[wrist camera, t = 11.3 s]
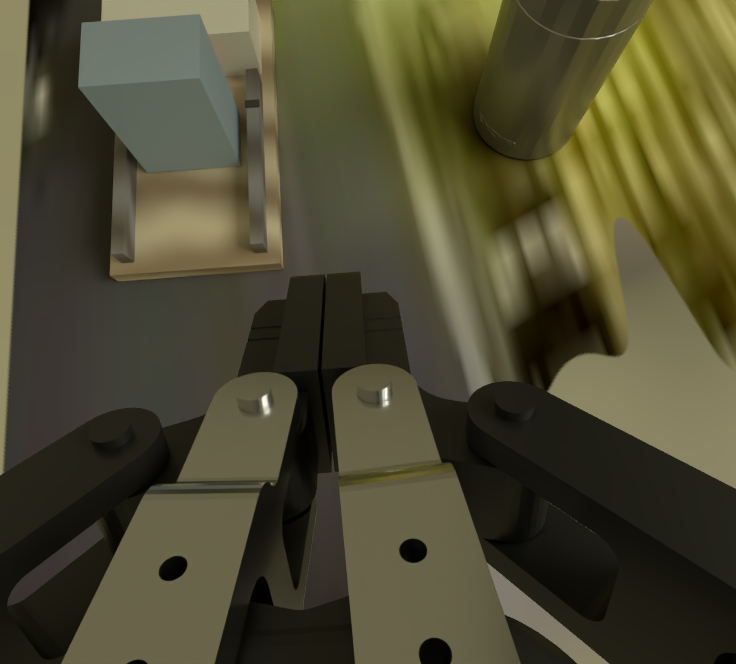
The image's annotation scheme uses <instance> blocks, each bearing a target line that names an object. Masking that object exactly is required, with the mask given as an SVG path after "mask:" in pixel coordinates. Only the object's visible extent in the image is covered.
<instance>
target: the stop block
mask: <svg viewBox="0 0 736 664" xmlns="http://www.w3.org/2000/svg"><path fill="white" fill-rule="evenodd" d="M194 14H200V16H201V18H202V21H203V23H204V26H205V28H206V31H207V33H208V36H209V38H210V41H211V43H212V46H213V48H214V51H215V53H216V56H217V58H218V61H219V63H220V66H221V68H222V71H223V73H224V76H225V77H229V76H242V75H246V69H251V68H258V72H259V74H262V61H261V30H260V15H259V12H258V8H257V4H256V0H102V15H101V21H113V20H126V19H140V18H153V17H167V16H180V15H194Z"/></svg>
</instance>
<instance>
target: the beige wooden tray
mask: <svg viewBox="0 0 736 664" xmlns="http://www.w3.org/2000/svg"><path fill="white" fill-rule="evenodd" d="M256 4H257V8H258V12H259V15H260V30H261V61H262V74H259V72H258V68H251V69H246V75H242V76H229V77H225V78H226V81H227V83H228V86H229V88H230V91H231V93H232V96H233V98H234V101H235V103H236V106H237V108H238V111H239V113H240V144H241V166H233V167H219V168H206V169H192V170H179V171H165V172H152V173H147V172H146V170H145V169H144V168H143V167H142V165H141V164H140V163H139V162H138V161H137V159H136V158H135V157H134V156H133V154H132V153H131V152H130V151H129V149H128V148H127V147H126V146H125V144H124V143H123V142H122V141H121V140H120V138H119V137H118V136H117V135H116V133H115V149H114V176H113V202H112V229H111V256H110V276H111V277H112V278H114V279H115V280H117V281H131V280H145V279H158V278H172V277H185V276H199V275H212V274H226V273H239V272H253V271H267V270H280V269H283V250H282V224H281V198H280V172H279V146H278V121H277V95H276V69H275V43H274V17H273V8H272V4H271V0H256Z"/></svg>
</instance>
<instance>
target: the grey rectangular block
mask: <svg viewBox="0 0 736 664" xmlns="http://www.w3.org/2000/svg"><path fill="white" fill-rule="evenodd" d="M78 88H79V89H80V90H81V91H82V93H83V94H84V95H85V96H86V97H87V99H88V100H89V101H90V102H91V104H92V105H93V106H94V107H95V109H96V110H97V111H98V112H99V114H100V115H101V116H102V117H103V118H104V120H105V121H106V122H107V123H108V125H109V126H110V127H111V128H112V130H113V131H114V132H115V133H116V135H117V136H118V137H119V138H120V140H121V141H122V142H123V143H124V144H125V146H126V147H127V148H128V149H129V151H130V152H131V153H132V154H133V156H134V157H135V158H136V159H137V161H138V162H139V163H140V164H141V165H142V167H143V168H144V169H145V170H146V172H147V173H152V172H165V171H179V170H192V169H206V168H219V167H233V166H241V144H240V113H239V111H238V108H237V106H236V103H235V101H234V98H233V96H232V93H231V91H230V88H229V86H228V83H227V81H226V78H225V76H224V73H223V71H222V68H221V66H220V63H219V61H218V58H217V56H216V53H215V51H214V48H213V46H212V43H211V41H210V38H209V36H208V33H207V31H206V28H205V26H204V23H203V21H202V18H201V16H200V14H194V15H180V16H167V17H153V18H140V19H126V20H113V21H99V22H85V23H82V27H81V45H80V63H79V81H78Z"/></svg>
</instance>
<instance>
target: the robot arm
mask: <svg viewBox="0 0 736 664" xmlns="http://www.w3.org/2000/svg"><path fill="white" fill-rule="evenodd" d="M652 2H653V0H502V4H501V7H500V11H499V15H498V18H497V22H496V26H495V29H494V33H493V37H492V40H491V44H490V47H489V51H488V55H487V58H486V62H485V66H484V69H483V72H482V76H481V80H480V83H479V87H478V91H477V94H476V98H475V102H474V107H473V116H474V122H475V125H476V128H477V130H478V132H479V134H480V136H481V137H482V138H483V139H484V141H485V142H486V143H487V144H488V145H489V146H491V147H492V148H493V149H495V150H496V151H497V152H499V153H502V154H504V155H506V156H509V157H512V158H516V159H525V160H531V159H539V158H543V157H546V156H549V155H551V154H553V153H554V152H556V151H558V150H559V149H560V148H562V147H563V146H564V145H565V144H566V143H567V141H568V140H569V139H570V137H571V136H572V134H573V132H574V131H575V129H576V127H577V126H578V124H579V123H580V121H581V119H582V118H583V116H584V114H585V113H586V111H587V110H588V108H589V106H590V105H591V103H592V101H593V100H594V98H595V96H596V95H597V93H598V91H599V90H600V88H601V86H602V85H603V83H604V82H605V80H606V78H607V77H608V75H609V73H610V72H611V70H612V68H613V67H614V65H615V63H616V62H617V60H618V58H619V57H620V55H621V53H622V52H623V50H624V48H625V47H626V45H627V43H628V42H629V40H630V38H631V37H632V35H633V34H634V32H635V30H636V29H637V27H638V25H639V24H640V22H641V20H642V19H643V17H644V15H645V14H646V12H647V10H648V8H649V7H650V5H651V3H652ZM332 452H333V460H334V467H335V472H339V476H340V477H339V489H340V501H341V512H342V523H343V534H344V545H345V556H346V567H347V578H348V589H349V596H348V597H344V598H341V599H338V600H335V601H332V602H329V603H326V604H323V605H320V606H317V607H314V608H311V609H306V610H303V604H304V595H305V588H306V581H307V574H308V567H309V560H310V553H311V546H312V539H313V532H314V525H315V518H316V511H317V506H316V499H315V495H316V491H317V477H318V473H328V472H331V471H332ZM550 503H551V504H550ZM553 505H554V506H553ZM556 507H557V508H556ZM559 509H560V510H559ZM562 511H563V512H562ZM565 513H566V514H565ZM568 515H569V516H568ZM571 517H572V518H571ZM574 519H575V520H574ZM577 521H578V522H577ZM95 522H96V523H97V525H98V527H99V529H100V531H101V533H102V535H103V537H104V538H103V539H101V540H100V541H99V542H97V543H96V544H95V545H94V546H92V547H91V548H90V549H89V550H87V551H86V552H85V553H83V554H82V555H81V556H80V557H78V558H77V559H76V560H75V561H73V562H72V563H71V564H69V565H68V566H67V567H66V568H64V569H63V570H62V571H61V572H59V573H58V574H57V575H55V576H54V577H53V578H52V579H50V580H49V581H48V582H47V583H45V584H44V585H43V586H41V587H40V588H39V589H38V590H36V591H35V592H34V593H33V594H31V595H30V596H29V597H27V598H26V599H25V600H23V601H21V602H19V603H17V604H15V605H11V606H7V601H8V598H9V595H10V593H11V591H12V590H13V588H14V587H15V585H16V584H17V583H18V582H19V581H20V580H21V579H22V578H23V577H24V576H25V575H26V574H27V573H29V572H30V571H31V570H33V569H34V568H35V567H37V566H38V565H39V564H41V563H42V562H43V561H45V560H46V559H47V558H49V557H50V556H51V555H53V554H54V553H55V552H57V551H58V550H59V549H60V548H62V547H63V546H64V545H66V544H67V543H68V542H70V541H71V540H72V539H74V538H75V537H76V536H78V535H79V534H80V533H82V532H83V531H84V530H86V529H87V528H88V527H90V526H91V525H92V524H94V523H95ZM580 523H581V524H580ZM583 525H584V526H583ZM586 527H587V528H586ZM589 529H590V530H589ZM592 531H593V532H592ZM595 533H596V534H595ZM487 563H488V564H490V565H491V566H492V567H493V568H495V569H496V570H497V571H498V572H499V573H501V574H502V575H503V576H504V577H505V578H507V579H508V580H509V581H510V582H511V583H513V584H514V585H515V586H516V587H517V588H519V589H520V590H521V591H522V592H524V593H525V594H526V595H527V596H528V597H530V598H531V599H532V600H533V601H535V602H536V603H537V604H538V605H539V606H541V607H542V608H543V609H544V610H545V611H547V612H548V613H549V614H550V615H551V616H553V617H554V618H555V619H556V620H557V621H559V622H560V623H561V624H562V625H563V626H565V627H566V628H567V629H568V630H569V631H571V632H572V633H573V634H574V635H576V636H577V637H578V638H579V639H580V640H582V641H583V642H584V643H585V644H586V645H588V646H589V647H590V648H591V649H592V650H594V651H595V652H596V653H597V654H599V655H600V656H601V657H602V658H604V659H605V660H606V661H607V662H608V663H609V664H736V489H735V488H733V487H731V486H729V485H727V484H725V483H723V482H721V481H719V480H717V479H715V478H713V477H711V476H709V475H707V474H705V473H704V472H702V471H700V470H698V469H696V468H694V467H692V466H690V465H688V464H686V463H684V462H682V461H680V460H678V459H676V458H674V457H672V456H671V455H668V454H667V453H664V452H663V451H660V450H659V449H657V448H655V447H653V446H651V445H649V444H647V443H645V442H643V441H641V440H639V439H637V438H635V437H634V436H632V435H629V434H628V433H626V432H624V431H622V430H620V429H618V428H616V427H614V426H612V425H610V424H608V423H606V422H604V421H602V420H600V419H598V418H597V417H595V416H593V415H591V414H588V413H587V412H585V411H583V410H581V409H579V408H577V407H575V406H573V405H571V404H569V403H567V402H565V401H563V400H561V399H560V398H557V397H556V396H554V395H552V394H550V393H548V392H546V391H544V390H542V389H540V388H538V387H535V386H532V385H529V384H526V383H521V382H512V381H503V382H495V383H491V384H488V385H485V386H483V387H481V388H479V389H478V390H476V391H475V392H474V393H473V394H472V395H471V397H470V399H469V401H468V403H467V402H460V401H453V400H448V399H443V398H440V397H436V396H434V395H431V394H429V393H427V392H426V391H424V390H423V389H421V388H420V387H419V386H418V385H417V383H416V381H415V379H414V378H413V377H412V375H411V373H410V367H409V362H408V356H407V351H406V345H405V339H404V334H403V329H402V322H401V317H400V311H399V306H398V303H397V302H396V301H395V300H394V299H393V298H392V297H391V296H390V295H389V294H388V293H387V292H379V293H365V294H362V287H361V275H360V272H348V273H335V274H327V282H326V278H325V275H324V274H323V275H309V276H295V277H291V278H290V283H289V288H288V293H287V299H286V300H272V301H267V302H266V303H265V304H264V305H263V306H262V307H261V308H260V309H259V310H258V311H257V312H256V313H255V315H254V319H253V323H252V326H251V331H250V333H249V337H248V342H247V344H246V348H245V352H244V355H243V359H242V362H241V366H240V370H239V373H238V377H237V378H236V379H234V380H232V381H230V382H228V383H227V384H225V385H224V386H223V387H222V388H220V389H219V390H218V392H217V393H216V394H215V396H214V398H213V400H212V402H211V404H210V406H209V409H208V411H207V413H206V414H205V415H202V416H200V417H197V418H194V419H191V420H188V421H185V422H181V423H178V424H174V425H171V426H167V427H164V428H162V426H161V423H160V420H159V418H158V417H157V416H156V415H155V414H154V413H153V412H151V411H149V410H146V409H142V408H124V409H118V410H114V411H110V412H107V413H105V414H102V415H100V416H97V417H95V418H93V419H92V420H90V421H88V422H86V423H85V424H83V425H82V426H80V427H78V428H77V429H75V430H73V431H72V432H70V433H69V434H67V435H65V436H64V437H62V438H60V439H59V440H57V441H56V442H54V443H52V444H51V445H49V446H47V447H46V448H44V449H43V450H41V451H39V452H38V453H36V454H34V455H33V456H31V457H30V458H28V459H26V460H25V461H23V462H21V463H20V464H18V465H17V466H15V467H13V468H12V469H10V470H9V471H7V472H5V473H4V474H2V475H0V664H577V663H576V662H575V661H574V660H573V659H571V658H570V657H569V656H568V655H567V654H566V653H565V652H563V651H562V650H561V649H560V648H559V647H558V646H556V645H555V644H554V643H552V642H551V641H549V640H548V639H547V638H545V637H544V636H543V635H541V634H539V633H538V632H537V631H535V630H533V629H532V628H530V627H528V626H526V625H525V624H523V623H521V622H519V621H517V620H515V619H513V618H511V617H508V616H506V615H504V612H503V609H502V607H501V604H500V601H499V598H498V595H497V592H496V589H495V586H494V583H493V580H492V577H491V574H490V571H489V568H488V565H487Z"/></svg>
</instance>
